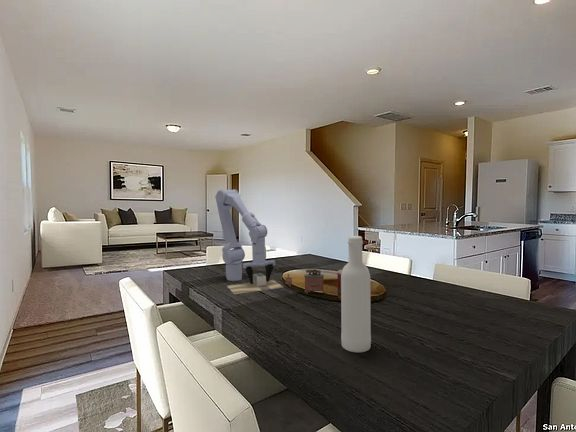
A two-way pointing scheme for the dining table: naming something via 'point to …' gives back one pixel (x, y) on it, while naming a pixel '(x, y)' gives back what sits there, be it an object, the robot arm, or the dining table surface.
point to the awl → (288, 280)
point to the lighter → (313, 280)
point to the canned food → (339, 283)
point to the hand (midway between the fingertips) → (259, 282)
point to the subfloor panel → (253, 287)
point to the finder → (259, 279)
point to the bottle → (355, 300)
